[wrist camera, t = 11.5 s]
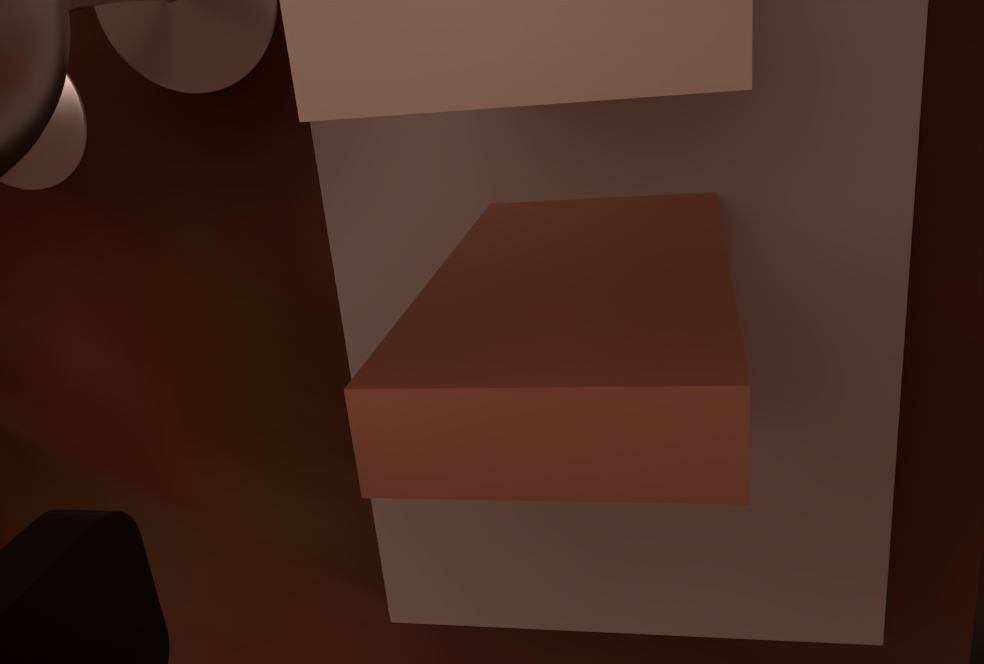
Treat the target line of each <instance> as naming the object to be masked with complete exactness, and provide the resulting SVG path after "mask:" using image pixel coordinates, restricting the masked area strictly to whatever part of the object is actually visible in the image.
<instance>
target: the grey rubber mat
mask: <svg viewBox="0 0 984 664" xmlns="http://www.w3.org/2000/svg"><path fill="white" fill-rule="evenodd" d="M927 11H928V0H753V14H752V90H739V91H725V92H711V93H697V94H684V95H670V96H656V97H642V98H628V99H614V100H600V101H586V102H572V103H559V104H545V105H531V106H517V107H503V108H489V109H475V110H461V111H448V112H434V113H420V114H406V115H392V116H378V117H364V118H350V119H337V120H323V121H310V125H311V132H312V138H313V144H314V150H315V156H316V163H317V169H318V175H319V181H320V187H321V193H322V200H323V206H324V212H325V218H326V224H327V231H328V237H329V243H330V249H331V255H332V261H333V268H334V274H335V280H336V286H337V292H338V298H339V305H340V311H341V317H342V323H343V329H344V336H345V342H346V348H347V354H348V360H349V366H350V373H351V379H352V378H353V377H354V376H355V374H356V373H357V372H358V371H359V369H360V368H361V367H362V366H363V364H364V363H365V362H366V361H367V359H368V358H369V357H370V355H371V354H372V353H373V352H374V350H375V349H376V348H377V347H378V345H379V344H380V343H381V341H382V340H383V339H384V338H385V336H386V335H387V334H388V333H389V331H390V330H391V329H392V327H393V326H394V325H395V324H396V322H397V321H398V320H399V319H400V317H401V316H402V315H403V314H404V312H405V311H406V310H407V308H408V307H409V306H410V305H411V303H412V302H413V301H414V300H415V298H416V297H417V296H418V294H419V293H420V292H421V291H422V289H423V288H424V287H425V286H426V284H427V283H428V282H429V280H430V279H431V278H432V277H433V275H434V274H435V273H436V272H437V270H438V269H439V268H440V267H441V265H442V264H443V263H444V261H445V260H446V259H447V258H448V256H449V255H450V254H451V253H452V251H453V250H454V249H455V247H456V246H457V245H458V244H459V242H460V241H461V240H462V239H463V237H464V236H465V235H466V234H467V232H468V231H469V230H470V228H471V227H472V226H473V225H474V223H475V222H476V221H477V220H478V218H479V217H480V216H481V214H482V213H483V212H484V211H485V209H486V208H487V207H488V206H489V204H492V203H511V202H531V201H550V200H570V199H589V198H609V197H629V196H648V195H668V194H687V193H707V192H717V198H718V204H719V209H720V215H721V221H722V227H723V233H724V238H725V244H726V250H727V256H728V262H729V267H730V273H731V279H732V285H733V290H734V296H735V302H736V308H737V314H738V319H739V325H740V331H741V337H742V343H743V348H744V354H745V360H746V366H747V372H748V377H749V383H750V472H749V505H740V504H682V503H624V502H566V501H507V500H449V499H391V498H371V502H372V509H373V515H374V521H375V527H376V533H377V539H378V546H379V552H380V558H381V564H382V570H383V576H384V583H385V589H386V595H387V601H388V607H389V614H390V620H391V622H397V623H418V624H440V625H461V626H482V627H503V628H525V629H546V630H567V631H588V632H609V633H631V634H652V635H673V636H694V637H716V638H737V639H758V640H779V641H800V642H822V643H843V644H864V645H883V636H884V622H885V607H886V593H887V579H888V565H889V551H890V536H891V522H892V508H893V494H894V480H895V465H896V451H897V437H898V423H899V409H900V394H901V380H902V366H903V352H904V338H905V323H906V309H907V295H908V281H909V267H910V252H911V238H912V224H913V210H914V196H915V181H916V167H917V153H918V139H919V125H920V110H921V96H922V82H923V68H924V54H925V39H926V25H927Z"/></svg>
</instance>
